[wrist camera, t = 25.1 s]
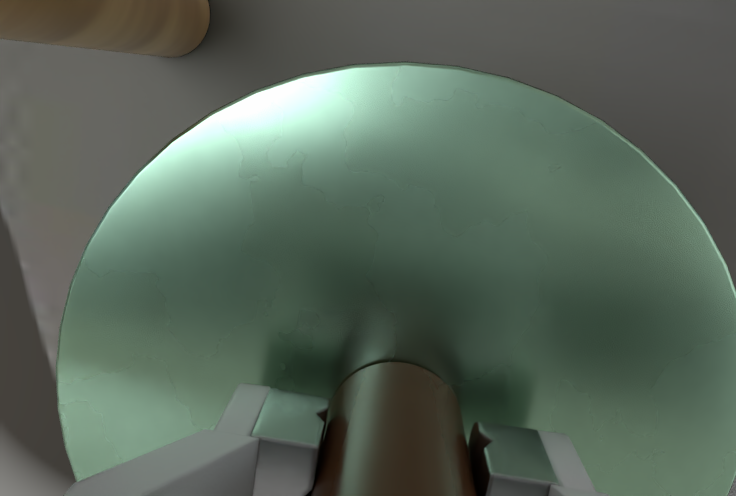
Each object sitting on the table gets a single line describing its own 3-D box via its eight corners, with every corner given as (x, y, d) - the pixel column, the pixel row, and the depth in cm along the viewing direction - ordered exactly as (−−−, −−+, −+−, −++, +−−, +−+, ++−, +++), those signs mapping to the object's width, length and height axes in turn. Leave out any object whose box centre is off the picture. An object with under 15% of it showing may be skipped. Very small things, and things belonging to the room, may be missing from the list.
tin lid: (98, 13, 11) (-199, -56, 6) (808, 122, 11) (1221, 161, 5) (75, 597, 14) (-130, 924, 9) (627, 686, 14) (775, 1073, 9)
